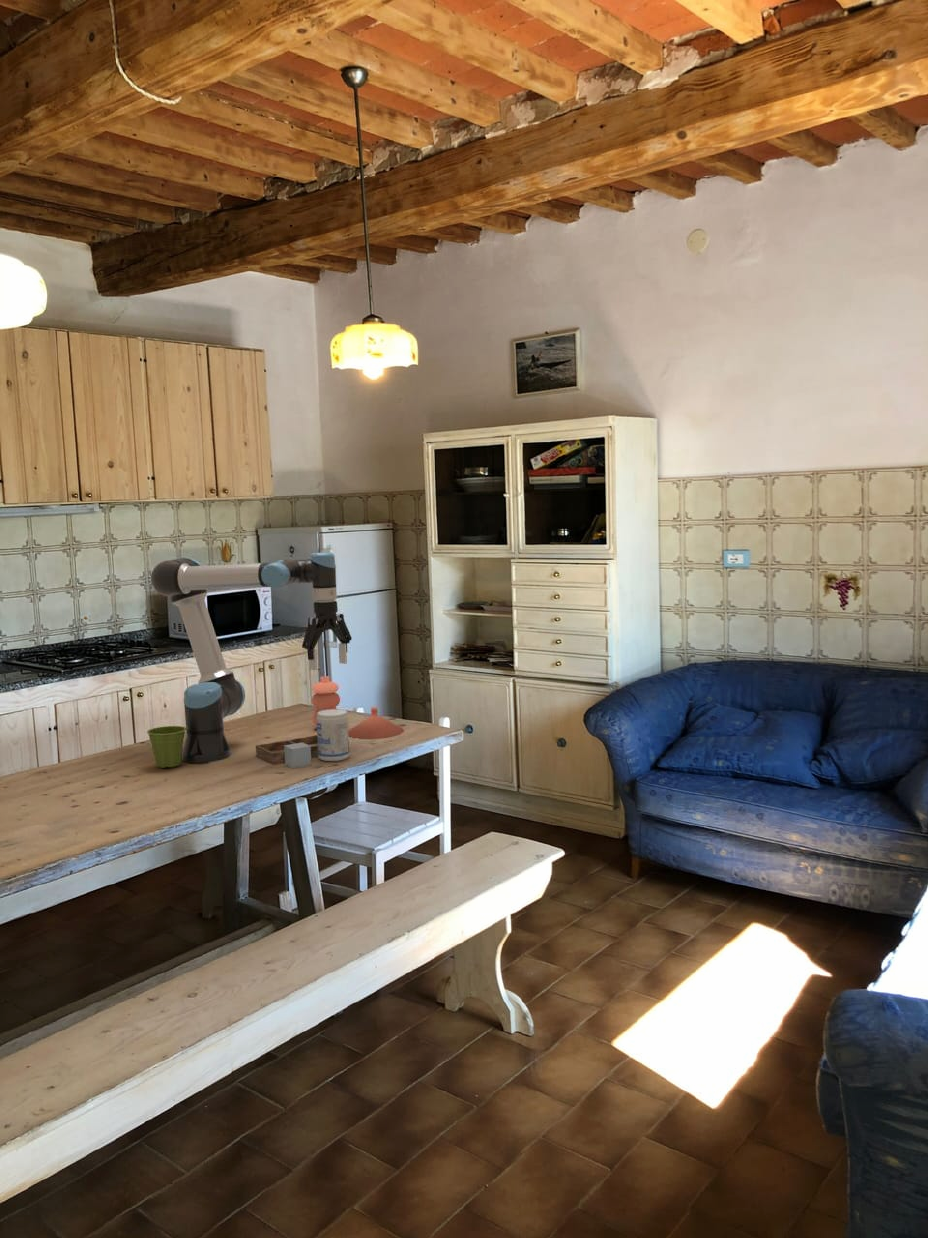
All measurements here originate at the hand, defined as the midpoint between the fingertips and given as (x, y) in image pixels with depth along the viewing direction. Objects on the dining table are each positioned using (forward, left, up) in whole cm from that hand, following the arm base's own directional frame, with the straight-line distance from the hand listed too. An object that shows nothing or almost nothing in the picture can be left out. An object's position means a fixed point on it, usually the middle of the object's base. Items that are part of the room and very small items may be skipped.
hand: (328, 666), depth 322 cm
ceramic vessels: (+18, +17, -27) cm, 37 cm away
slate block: (-17, -12, -27) cm, 34 cm away
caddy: (-10, +1, -27) cm, 29 cm away
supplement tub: (-5, -12, -27) cm, 30 cm away
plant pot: (-49, +14, -27) cm, 58 cm away
